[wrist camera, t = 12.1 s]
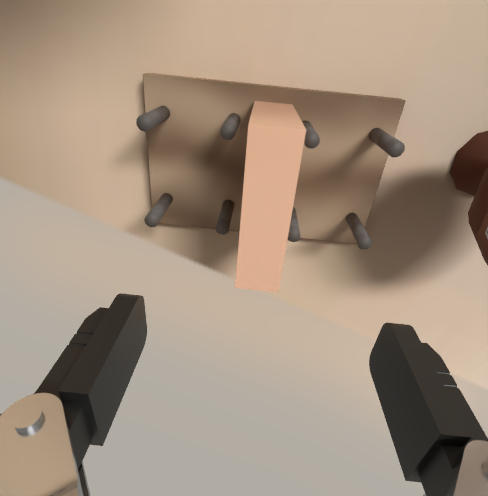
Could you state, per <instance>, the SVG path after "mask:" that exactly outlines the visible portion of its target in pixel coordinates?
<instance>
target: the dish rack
mask: <svg viewBox="0 0 488 496" xmlns="http://www.w3.org/2000/svg"><path fill="white" fill-rule="evenodd" d="M143 84H144V98H145V114H143V115H141V116H139V117H138V118H137V126H138V128H139V129H140V130H142V131H145V132H146V131H147V143H148V157H149V172H150V187H151V202H152V209H151V211H150V212H149V213H148V215H147V216H146V217H145V223H146V224H147V225H148V226H150V227H155V226H156V225H157V224H158V223H164V224H173V225H183V226H192V227H202V228H211V229H216V231H217V232H218V233H219V234H226V233H228V231H229V230H230V231H240V221H241V209H242V196H243V184H244V172H245V160H246V147H247V135H248V124H249V120H250V116H251V113H252V109H253V105H254V101H262V102H273V103H283V104H293V106H294V108H295V110H296V112H297V113H298V115H299V117H300V119H301V121H302V123H303V124H304V126H305V128H306V134H305V140H304V146H303V152H302V158H301V164H300V169H299V175H298V181H297V187H296V193H295V198H294V204H293V210H292V216H291V222H290V228H289V233H288V240H289V241H291V242H296V241H298V240H299V239H300V238H306V239H316V240H326V241H335V242H345V243H354V244H358V246H359V247H360V248H361V249H368V248H370V247H371V245H372V240H371V239H370V237H369V235H368V233H367V232H366V230H365V226H366V223H367V220H368V217H369V214H370V211H371V207H372V204H373V201H374V198H375V195H376V192H377V189H378V185H379V182H380V179H381V176H382V173H383V170H384V167H385V163H386V160H387V157H388V154H389V155H390V156H391V157H398V156H400V155H401V154H402V153H403V152H404V148H405V147H404V144H403V143H402V142H401V141H399V140H397V139H396V138H394V135H395V132H396V129H397V126H398V123H399V119H400V116H401V113H402V110H403V107H404V104H405V100H402V99H398V98H388V97H378V96H368V95H358V94H349V93H339V92H329V91H319V90H309V89H300V88H290V87H280V86H270V85H260V84H251V83H241V82H231V81H221V80H211V79H202V78H192V77H182V76H172V75H162V74H153V73H145V74H143Z"/></svg>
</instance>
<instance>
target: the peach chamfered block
mask: <svg viewBox="0 0 488 496" xmlns="http://www.w3.org/2000/svg"><path fill="white" fill-rule="evenodd" d="M305 134H306V128H305V126H304V124H303V123H302V121H301V119H300V117H299V115H298V113H297V112H296V110H295V108H294V106H293V104H283V103H273V102H262V101H254V105H253V109H252V113H251V116H250V120H249V124H248V135H247V147H246V160H245V172H244V184H243V196H242V209H241V221H240V233H239V246H238V258H237V270H236V282H235V288H243V289H252V290H262V291H272V292H279V286H280V280H281V274H282V268H283V262H284V257H285V251H286V245H287V239H288V233H289V228H290V222H291V216H292V210H293V204H294V198H295V193H296V187H297V181H298V175H299V169H300V164H301V158H302V152H303V146H304V140H305Z"/></svg>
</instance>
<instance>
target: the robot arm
mask: <svg viewBox="0 0 488 496" xmlns="http://www.w3.org/2000/svg"><path fill="white" fill-rule="evenodd" d="M146 334H147V325H146V315H145V305H144V299H143V296H139V295H129V294H118V295H117V296H116V298H115V299H114V301H113V302H112V304H111V306H110V307H109V308H99V309H97V310H96V311H95V312H94V313H92V314H91V315H90V316H88V317H87V318H86V319H85V320H84V322H83V323H82V325H81V326H80V328H79V329H78V331H77V334H75V335H74V337H73V338H72V340H71V341H70V344H69V345H67V347H66V348H65V350H64V351H63V353H62V354H61V356H60V357H59V359H58V360H57V362H56V363H55V364H54V366H53V367H52V369H51V370H50V372H49V373H48V375H47V376H46V378H45V379H44V381H43V382H42V384H41V385H40V387H39V388H38V389H37V391H36V392H35V393H34V394H32V395H29V396H26V397H24V398H22V399H20V400H18V401H17V402H15V403H14V404H12V405H11V406H10V407H9V408H7V409H6V410H5V411H4V412H3V413H2V414H0V496H90V492H89V488H88V483H87V478H86V474H85V470H84V465H83V461H82V460H83V458H84V456H85V454H86V452H87V449H88V447H89V445H90V444H91V445H100V446H103V443H104V441H105V439H106V436H107V434H108V432H109V429H110V427H111V424H112V422H113V420H114V417H115V415H116V412H117V410H118V407H119V405H120V403H121V400H122V398H123V396H124V393H125V391H126V388H127V386H128V384H129V381H130V379H131V376H132V374H133V372H134V369H135V367H136V364H137V362H138V359H139V357H140V355H141V352H142V350H143V348H144V345H145V341H146ZM369 366H370V372H371V375H372V378H373V381H374V384H375V388H376V391H377V394H378V397H379V400H380V403H381V406H382V409H383V412H384V415H385V418H386V422H387V425H388V428H389V430H390V434H391V437H392V440H393V443H394V446H395V449H396V452H397V455H398V459H399V462H400V465H401V468H402V470H403V474H404V477H405V480H406V481H414V482H422V485H423V488H424V490H425V494H424V495H423V496H488V438H487V437H486V435H485V433H484V431H483V430H482V428H481V426H480V424H479V423H478V421H477V419H476V417H475V416H474V414H473V412H472V410H471V409H470V407H469V405H468V404H467V402H466V400H465V398H464V396H463V395H462V393H461V391H460V390H459V389H458V388H457V384H456V383H455V381H454V379H453V377H452V376H451V375H450V372H449V370H448V368H447V367H446V365H445V363H444V361H443V360H442V358H441V357H440V356H439V355H438V354H437V353H436V352H435V351H434V350H433V349H432V348H431V347H430V346H429V345H428V344H427V343H421V341H420V340H419V338H418V336H417V334H416V332H415V330H414V329H413V327H412V326H410V325H404V324H394V323H385V324H384V325H383V326H382V329H381V331H380V333H379V335H378V338H377V340H376V342H375V345H374V347H373V349H372V352H371V355H370V360H369Z"/></svg>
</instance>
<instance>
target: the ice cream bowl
mask: <svg viewBox="0 0 488 496" xmlns="http://www.w3.org/2000/svg"><path fill="white" fill-rule="evenodd" d="M450 174H451V176H452V179H453V181H454V183H455V186H456V188H457V189H458V190H461V191H464V192H466V193H469V194H472V195H475V197H474V199H473V202H472V204H471V207H470V209H469V212H468V216H469V224H470V226H471V229H472V231H473V234H474V236H475V238H476V241H477V243H478V246H479V248H480V251H481V253H482V256H483V258H484V260H485V262H486V263H487V265H488V131H485V132H482V133H478V134H476V135H475V136H474V137H473V138H472V139H471V140H470V141H469V142H467V143H466V144H465V145H464V146H463V147H462V148H461V149H460V150H459V151H457V154H456V157H455V160H454V163H453V166H452V168H451V171H450Z"/></svg>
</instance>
